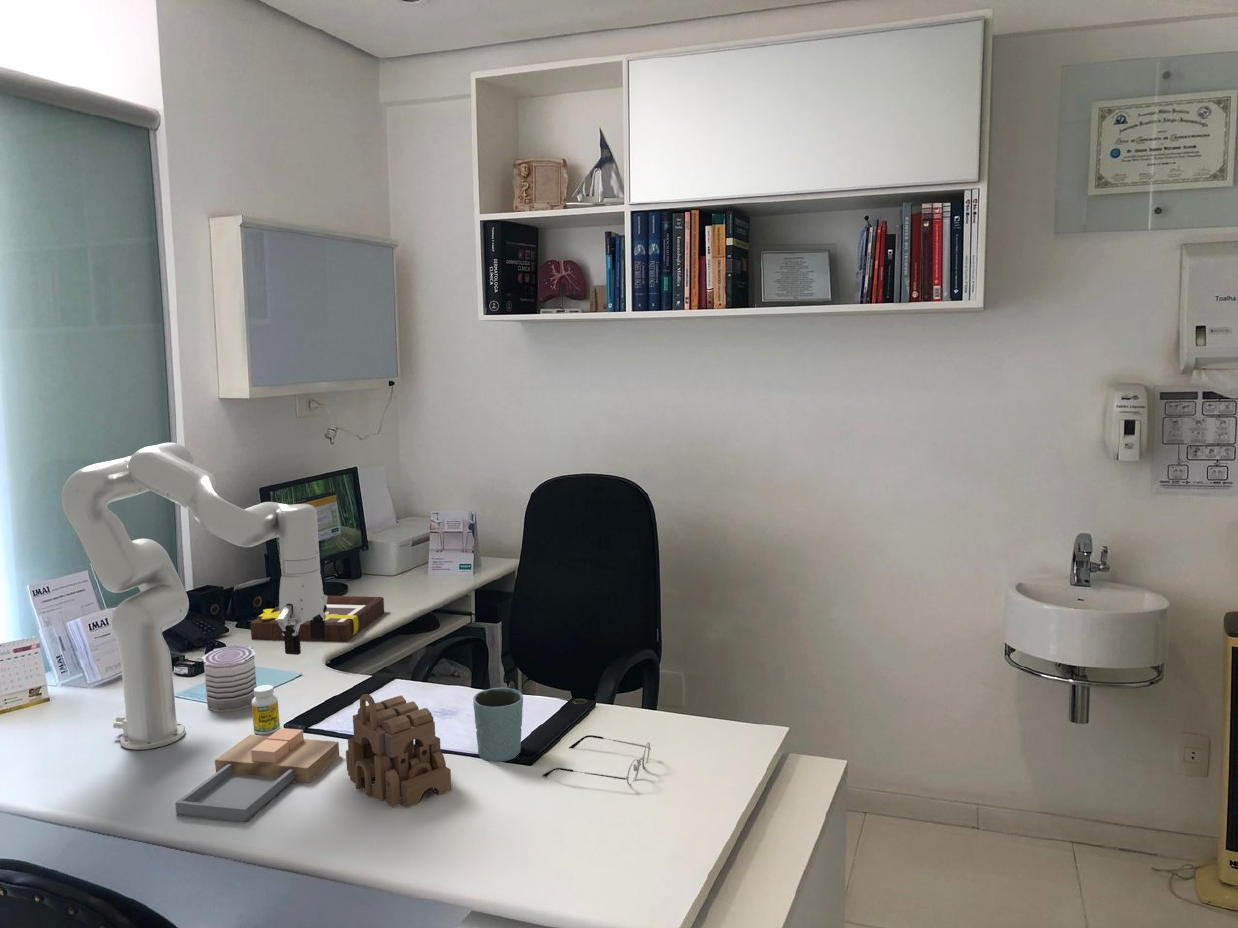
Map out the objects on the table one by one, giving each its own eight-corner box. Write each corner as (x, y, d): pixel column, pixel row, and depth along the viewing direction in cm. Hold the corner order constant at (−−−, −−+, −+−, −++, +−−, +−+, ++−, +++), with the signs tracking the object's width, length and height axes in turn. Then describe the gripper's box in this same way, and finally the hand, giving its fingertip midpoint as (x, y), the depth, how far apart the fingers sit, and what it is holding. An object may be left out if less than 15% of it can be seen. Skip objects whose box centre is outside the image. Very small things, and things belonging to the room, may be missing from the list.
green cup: (498, 738, 206) (496, 683, 205) (535, 749, 200) (533, 693, 199) (464, 756, 198) (462, 699, 196) (502, 768, 192) (499, 710, 191)
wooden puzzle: (461, 787, 185) (457, 692, 183) (392, 814, 175) (387, 715, 173) (399, 751, 201) (395, 664, 198) (334, 774, 191) (328, 683, 189)
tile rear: (267, 748, 196) (267, 738, 196) (281, 738, 201) (280, 727, 201) (290, 750, 195) (289, 739, 195) (303, 739, 200) (302, 729, 200)
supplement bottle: (276, 723, 216) (273, 681, 215) (282, 731, 212) (279, 688, 211) (251, 729, 213) (247, 686, 212) (257, 737, 209) (253, 694, 208)
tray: (176, 815, 176) (175, 802, 176) (229, 775, 191) (228, 763, 191) (246, 822, 173) (245, 809, 173) (294, 781, 188) (293, 769, 188)
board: (215, 774, 192) (214, 759, 192) (251, 748, 204) (250, 734, 203) (308, 782, 188) (307, 767, 187) (339, 755, 199) (338, 741, 199)
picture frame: (347, 620, 270) (245, 617, 275) (348, 643, 271) (246, 640, 275) (385, 593, 298) (292, 591, 302) (386, 614, 299) (293, 612, 303)
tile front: (251, 760, 191) (251, 749, 191) (266, 749, 196) (265, 739, 195) (274, 762, 190) (274, 751, 189) (288, 751, 195) (288, 741, 194)
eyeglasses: (630, 795, 181) (630, 769, 180) (539, 781, 188) (538, 756, 187) (657, 759, 196) (657, 735, 195) (571, 747, 202) (571, 723, 202)
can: (267, 694, 233) (264, 646, 232) (241, 713, 222) (237, 662, 221) (224, 692, 235) (220, 644, 234) (195, 710, 224) (191, 660, 223)
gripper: (306, 554, 209) (311, 632, 211) (259, 575, 192) (265, 659, 194) (338, 555, 207) (343, 634, 209) (294, 576, 190) (299, 661, 193)
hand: (306, 646), depth 202 cm, fingers open, 9 cm apart
